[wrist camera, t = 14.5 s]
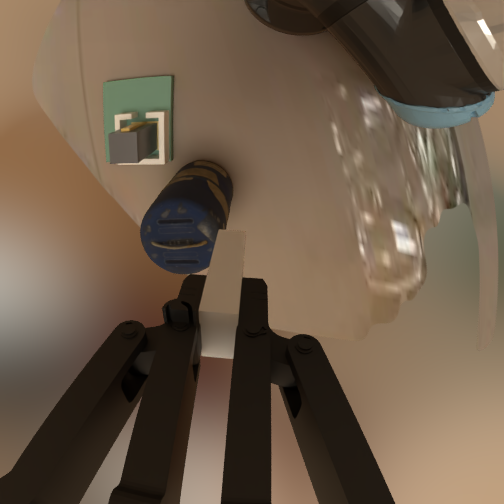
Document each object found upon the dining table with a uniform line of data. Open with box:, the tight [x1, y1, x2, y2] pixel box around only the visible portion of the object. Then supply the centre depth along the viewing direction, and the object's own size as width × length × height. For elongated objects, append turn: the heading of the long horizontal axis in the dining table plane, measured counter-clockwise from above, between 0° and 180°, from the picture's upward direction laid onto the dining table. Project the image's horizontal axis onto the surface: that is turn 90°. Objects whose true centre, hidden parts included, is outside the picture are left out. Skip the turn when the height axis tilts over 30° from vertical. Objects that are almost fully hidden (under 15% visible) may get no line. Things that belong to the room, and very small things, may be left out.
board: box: [103, 76, 174, 162], centre depth 39 cm, size 13×11×1 cm
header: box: [115, 110, 169, 165], centre depth 39 cm, size 8×8×2 cm
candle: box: [140, 161, 233, 274], centre depth 38 cm, size 10×10×18 cm
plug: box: [108, 122, 158, 164], centre depth 37 cm, size 4×4×8 cm
